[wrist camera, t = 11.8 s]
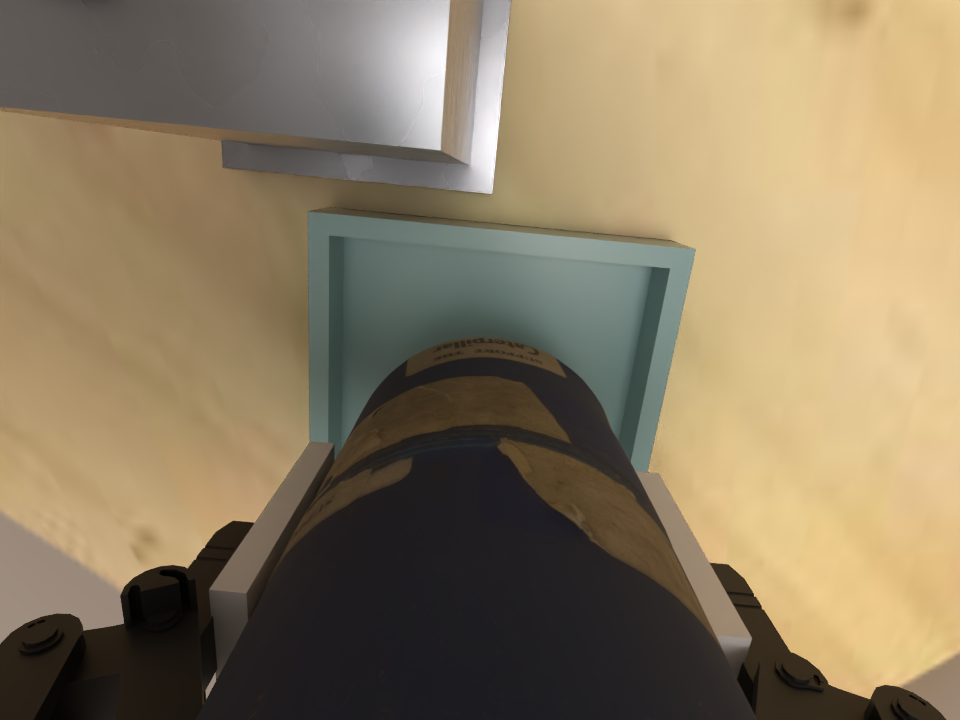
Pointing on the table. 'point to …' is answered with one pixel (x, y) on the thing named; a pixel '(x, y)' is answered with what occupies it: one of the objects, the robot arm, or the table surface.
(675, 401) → the table surface
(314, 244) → the tray
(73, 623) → the robot arm
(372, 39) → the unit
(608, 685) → the canister
